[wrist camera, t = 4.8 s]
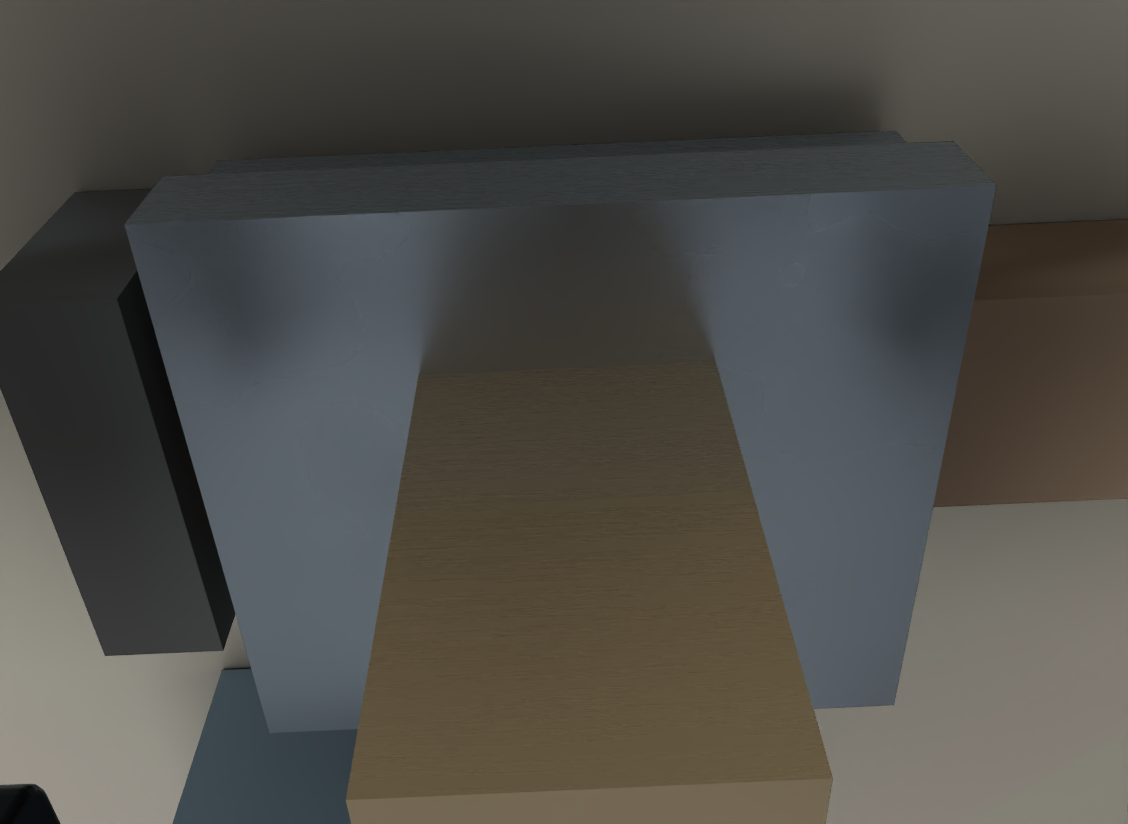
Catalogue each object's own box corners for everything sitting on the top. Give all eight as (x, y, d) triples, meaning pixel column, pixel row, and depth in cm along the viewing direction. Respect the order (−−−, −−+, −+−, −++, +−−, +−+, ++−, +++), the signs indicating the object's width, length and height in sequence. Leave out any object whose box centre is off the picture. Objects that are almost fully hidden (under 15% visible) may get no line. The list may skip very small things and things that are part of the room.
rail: (1843, 113, 13) (2150, 208, 11) (1634, 441, 16) (1839, 578, 13) (75, 192, 13) (-33, 305, 11) (171, 507, 16) (104, 655, 13)
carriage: (901, 88, 12) (1344, 543, 6) (837, 550, 16) (1052, 1144, 9) (207, 119, 12) (-183, 610, 6) (310, 573, 16) (152, 1185, 9)
